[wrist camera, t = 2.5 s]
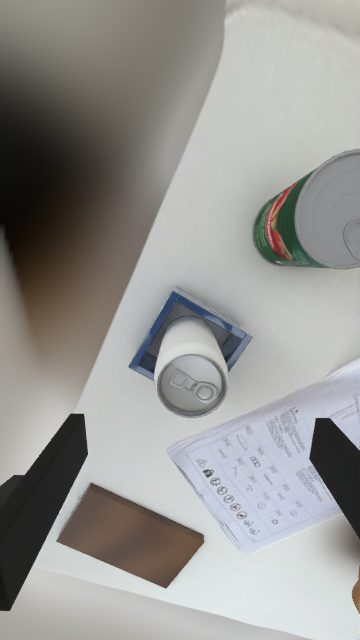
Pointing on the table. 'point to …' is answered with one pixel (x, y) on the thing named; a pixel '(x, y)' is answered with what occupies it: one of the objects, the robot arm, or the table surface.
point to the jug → (356, 593)
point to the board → (129, 537)
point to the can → (190, 369)
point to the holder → (238, 336)
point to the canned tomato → (315, 218)
